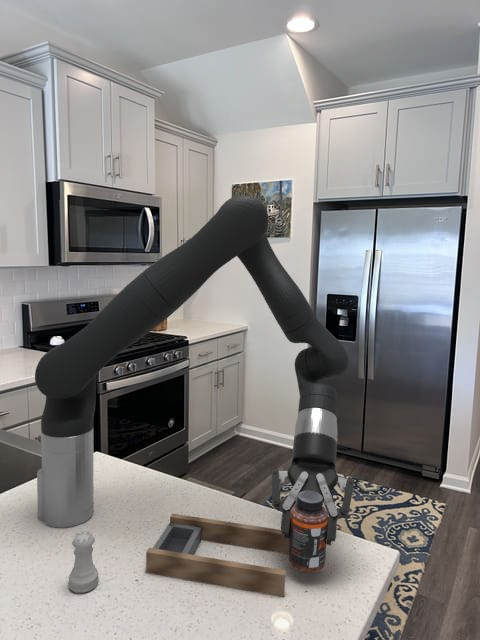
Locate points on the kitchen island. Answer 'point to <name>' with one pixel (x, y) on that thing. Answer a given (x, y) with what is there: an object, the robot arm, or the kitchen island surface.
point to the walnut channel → (220, 569)
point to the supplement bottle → (308, 532)
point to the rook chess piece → (83, 564)
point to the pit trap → (179, 539)
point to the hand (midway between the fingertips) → (307, 540)
